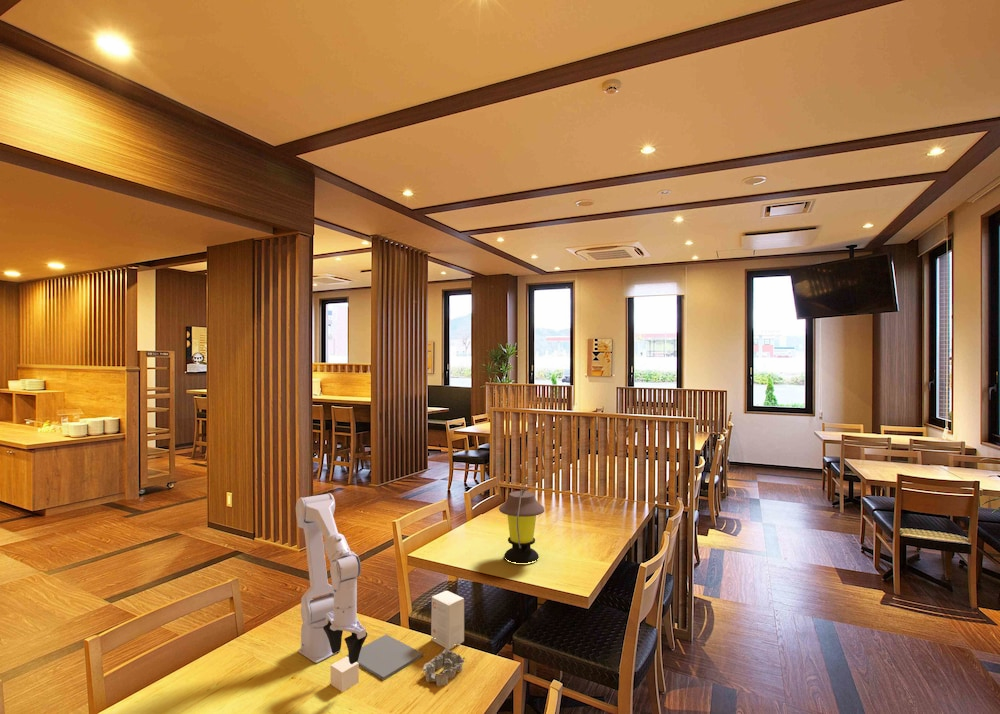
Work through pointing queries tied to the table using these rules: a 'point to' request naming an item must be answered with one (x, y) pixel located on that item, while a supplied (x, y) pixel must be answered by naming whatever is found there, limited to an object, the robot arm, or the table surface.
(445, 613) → the small box
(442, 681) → the egg carton
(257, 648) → the table surface
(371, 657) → the mat
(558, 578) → the table surface
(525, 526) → the lantern
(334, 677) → the cube
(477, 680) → the table surface
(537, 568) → the table surface
